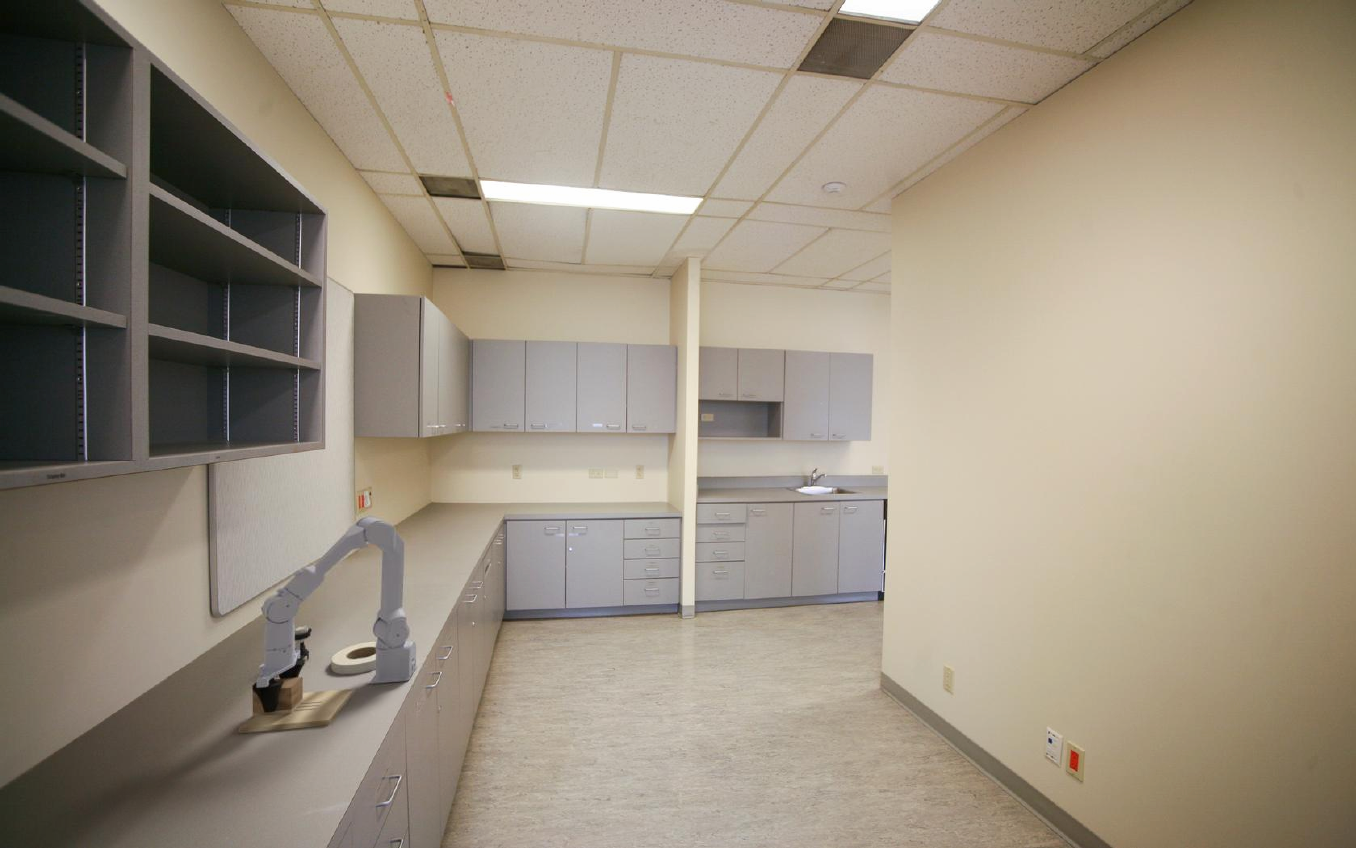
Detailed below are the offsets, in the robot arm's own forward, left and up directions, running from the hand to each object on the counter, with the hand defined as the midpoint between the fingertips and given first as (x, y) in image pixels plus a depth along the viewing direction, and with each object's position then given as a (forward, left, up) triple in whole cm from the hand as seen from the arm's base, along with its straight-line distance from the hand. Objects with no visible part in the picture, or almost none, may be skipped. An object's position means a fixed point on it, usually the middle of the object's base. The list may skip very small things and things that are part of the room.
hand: (279, 702), depth 123 cm
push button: (+8, -27, -3) cm, 28 cm away
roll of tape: (-8, -26, -3) cm, 28 cm away
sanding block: (0, 0, -2) cm, 2 cm away
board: (-4, 0, -3) cm, 5 cm away
